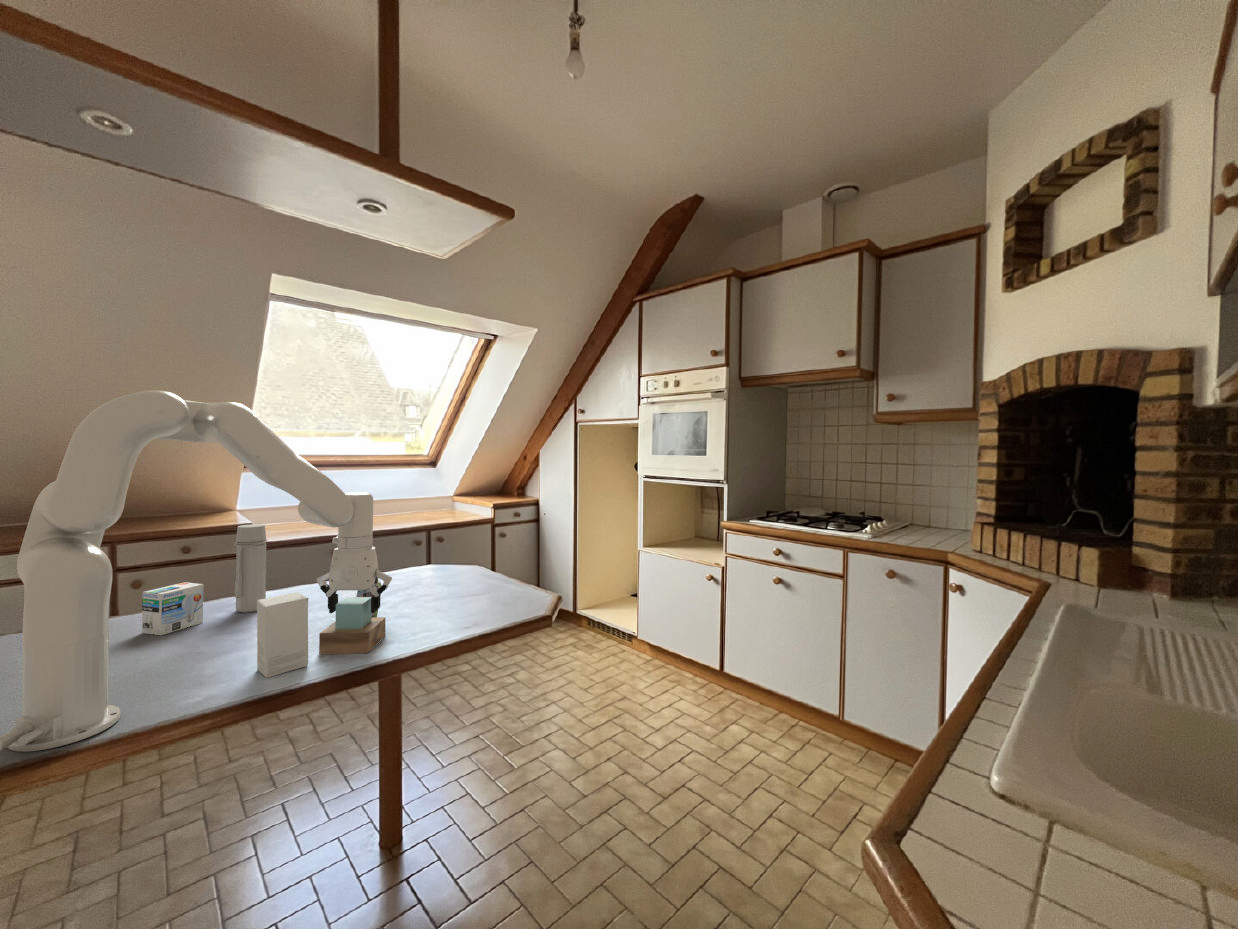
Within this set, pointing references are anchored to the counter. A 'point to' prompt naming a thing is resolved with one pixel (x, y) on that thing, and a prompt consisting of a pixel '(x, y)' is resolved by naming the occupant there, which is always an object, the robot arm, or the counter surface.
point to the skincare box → (282, 634)
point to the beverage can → (368, 594)
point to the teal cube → (353, 613)
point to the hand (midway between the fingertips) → (354, 611)
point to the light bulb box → (172, 608)
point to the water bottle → (250, 567)
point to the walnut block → (351, 638)
